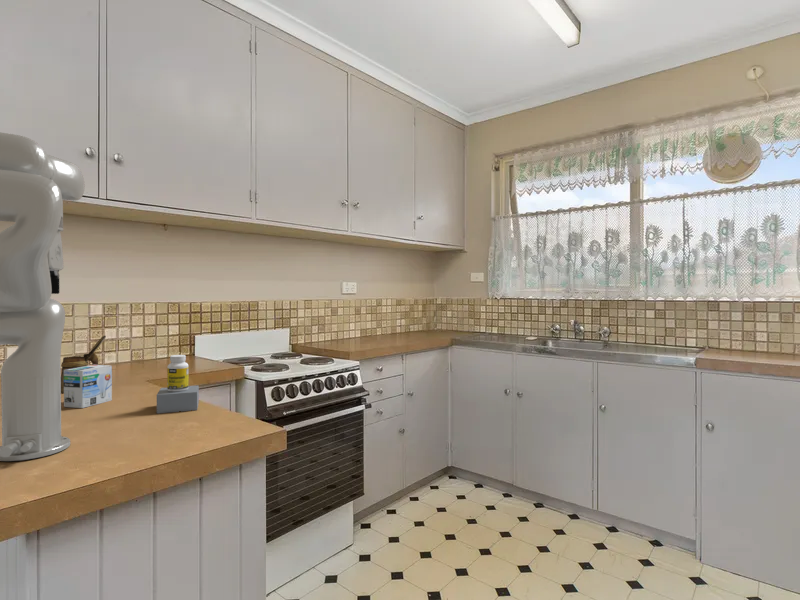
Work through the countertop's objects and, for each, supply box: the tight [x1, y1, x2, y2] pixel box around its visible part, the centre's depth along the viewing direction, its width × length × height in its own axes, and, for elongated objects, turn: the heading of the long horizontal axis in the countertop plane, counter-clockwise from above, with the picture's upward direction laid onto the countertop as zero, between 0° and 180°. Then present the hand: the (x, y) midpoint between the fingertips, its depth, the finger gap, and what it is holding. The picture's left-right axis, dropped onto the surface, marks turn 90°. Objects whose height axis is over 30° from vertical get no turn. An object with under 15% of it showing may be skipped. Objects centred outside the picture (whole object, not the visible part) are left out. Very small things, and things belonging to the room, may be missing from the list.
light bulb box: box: [63, 364, 113, 409], centre depth 135 cm, size 11×7×11 cm, turn 168°
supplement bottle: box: [166, 354, 190, 392], centre depth 130 cm, size 5×5×10 cm
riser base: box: [156, 385, 200, 414], centre depth 131 cm, size 10×10×5 cm
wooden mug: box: [61, 335, 107, 394], centre depth 155 cm, size 9×14×18 cm, turn 127°
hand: (44, 293), depth 113 cm, fingers open, 9 cm apart
